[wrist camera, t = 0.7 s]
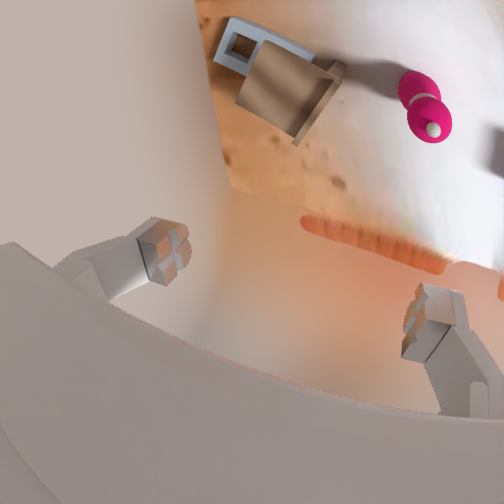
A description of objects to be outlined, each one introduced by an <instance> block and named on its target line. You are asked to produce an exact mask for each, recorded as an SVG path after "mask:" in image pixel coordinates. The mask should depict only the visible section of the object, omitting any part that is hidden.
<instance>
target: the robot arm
mask: <svg viewBox="0 0 504 504" xmlns="http://www.w3.org/2000/svg"><path fill="white" fill-rule="evenodd" d="M188 236H189V231H188V227H187V226H186V225H185V224H182V223H178V222H173V221H170V220H166V219H162V218H157V217H151V218H150V219H148V220H147V221H146V222H144V223H143V224H142V225H140V226H139V227H137V228H136V229H135V230H133V231H132V232H131V233H129V234H128V235H127V236H121V237H117V238H114V239H111V240H108V241H105V242H101V243H98V244H95V245H92V246H89V247H86V248H83V249H80V250H77V251H74V252H72V253H71V254H69V255H68V256H67V257H65V258H64V259H63V260H62V261H60V262H59V263H58V264H57V265H56V266H54V267H53V268H51V267H50V266H48V265H47V264H45V263H44V262H42V261H41V260H39V259H38V258H36V257H35V256H34V255H32V254H31V253H29V252H28V251H26V250H25V249H24V248H22V247H21V246H20V245H19V244H17V243H14V242H11V243H7V244H3V245H0V504H504V375H503V374H502V372H501V370H500V369H499V367H498V366H497V364H496V363H495V361H494V359H493V358H492V356H491V355H490V354H489V352H488V351H487V349H486V348H485V346H484V345H483V343H482V342H481V340H480V339H479V338H478V336H477V335H476V334H475V332H474V331H473V330H470V328H469V322H468V317H467V311H466V306H465V301H464V297H463V293H462V292H460V291H456V290H452V289H445V288H441V287H438V286H434V285H429V284H425V283H420V284H419V286H418V287H417V289H416V292H415V297H416V298H415V300H414V301H412V302H411V303H410V305H409V307H408V309H407V312H406V315H405V319H404V324H403V331H404V333H405V334H406V336H405V338H404V339H403V341H402V352H401V358H403V359H407V360H411V361H415V362H419V363H423V364H424V367H425V369H426V372H427V374H428V376H429V379H430V381H431V384H432V386H433V389H434V391H435V394H436V397H437V399H438V402H439V405H440V407H441V411H440V412H439V413H438V414H430V413H423V412H417V411H411V410H405V409H399V408H394V407H389V406H384V405H379V404H375V403H370V402H365V401H361V400H357V399H352V398H349V397H345V396H340V395H337V394H333V393H329V392H325V391H322V390H318V389H315V388H311V387H308V386H305V385H301V384H298V383H295V382H292V381H289V380H286V379H282V378H279V377H276V376H273V375H270V374H268V373H265V372H262V371H259V370H256V369H253V368H250V367H248V366H245V365H242V364H240V363H237V362H234V361H232V360H230V359H227V358H224V357H222V356H220V355H217V354H214V353H212V352H210V351H207V350H205V349H202V348H200V347H198V346H196V345H193V344H191V343H189V342H187V341H184V340H182V339H180V338H178V337H175V336H174V335H171V334H169V333H167V332H165V331H163V330H161V329H159V328H157V327H155V326H153V325H151V324H149V323H147V322H145V321H143V320H141V319H139V318H137V317H135V316H133V315H131V314H129V313H127V312H125V311H123V310H122V309H120V308H118V307H116V306H114V305H112V304H111V303H109V301H111V300H113V299H115V298H116V297H119V296H121V295H123V294H125V293H127V292H129V291H131V290H133V289H135V288H136V287H139V286H141V285H143V284H145V283H147V282H149V280H150V281H152V282H155V283H158V284H161V285H164V286H167V285H168V284H169V283H170V282H171V281H172V280H173V279H174V278H175V277H176V276H177V271H178V270H181V269H183V268H185V267H186V265H187V264H188V263H189V261H190V258H191V254H192V249H191V244H190V243H189V242H188V240H187V238H188Z"/></svg>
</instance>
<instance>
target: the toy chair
mask: <svg viewBox="0 0 504 504" xmlns="http://www.w3.org/2000/svg"><path fill="white" fill-rule="evenodd" d="M346 68H347V66H345V65H344V64H342V63H341V62H339V61H336V62H335V63H334V64H333V65H332V66H331V68H330V69H329V70H328V71H327V72H326V71H324V70H322V69H321V68H319V67H317V66H316V65H314V64H312V63H311V62H309V61H307V60H305V59H304V58H302V57H300V56H298V55H296V54H295V53H293V52H291V51H289V50H287V49H285V48H283V47H281V46H279V45H277V44H275V43H273V42H271V41H269V40H264V42H263V44H262V46H261V48H260V50H259V52H258V54H257V56H256V58H255V60H254V62H253V64H252V66H251V68H250V71H249V73H248V75H247V77H246V79H245V81H244V84H243V86H242V88H241V90H240V92H239V95H238V97H237V99H236V101H235V104H237V105H239V106H241V107H243V108H245V109H247V110H248V111H250V112H252V113H254V114H255V115H257V116H259V117H261V118H262V119H264V120H266V121H267V122H269V123H271V124H273V125H274V126H276V127H278V128H279V129H281V130H282V131H284V132H286V133H287V134H289V135H290V136H292V137H294V140H293V141H292V144H293V145H295V146H296V147H297V146H298V144H299V143H300V142H301V140H302V139H303V137H304V136H305V134H306V133H307V132H308V130H309V129H310V127H311V126H312V124H313V123H314V122H315V120H316V119H317V117H318V116H319V114H320V113H321V112H322V110H323V109H324V107H325V106H326V105H327V103H328V102H329V100H330V99H331V98H332V96H333V95H334V93H335V92H336V91H337V89H338V88H339V86H340V84H341V83H342V82H341V81H340V80H339V79H340V77H341V76H342V74H343V72H344V71H345V69H346Z"/></svg>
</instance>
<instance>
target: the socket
mask: <svg viewBox="0 0 504 504" xmlns="http://www.w3.org/2000/svg"><path fill="white" fill-rule="evenodd" d="M238 34H241V35H243V36H245V37H248V38H250V39H252V40H254V41H257V44H256V46H255V48H254V51H253V53H252V55H251V57H250V59H249V58H247V57H245V56H243V55H240V54H238V53H236V52H234V51H232V48H233V45H234V43H235V41H236V39H237V36H238ZM264 40H269V41H271V42H273V43H275V44H277V45H279V46H281V47H283V48H285V49H287V50H289V51H291V52H293V53H295V54H296V55H298V56H300V57H302V58H304V59H305V60H307V61H309V62H312V61H313V59H314V58H315V56H316V53H314V52H313V51H311V50H309V49H307V48H306V47H304V46H302V45H300V44H298V43H296V42H294V41H292V40H290V39H288V38H286V37H284V36H282V35H280V34H278V33H276V32H274V31H272V30H270V29H268V28H265V27H263V26H261V25H259V24H256V23H254V22H251V21H249V20H247V19H244V18H241V17H239V16H236V17H231V18H230V20H229V22H228V25H227V27H226V29H225V32H224V34H223V37H222V39H221V42H220V44H219V47H218V49H217V52H216V55H215V57H214V60H213V61H214V62H217V63H219V64H221V65H223V66H225V67H228V68H230V69H232V70H234V71H236V72H238V73H240V74H242V75H244V76H246V77H247V75H248V73H249V71H250V68H251V66H252V64H253V62H254V60H255V58H256V56H257V54H258V52H259V50H260V48H261V46H262V44H263V42H264Z"/></svg>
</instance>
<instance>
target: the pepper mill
mask: <svg viewBox="0 0 504 504" xmlns="http://www.w3.org/2000/svg"><path fill="white" fill-rule="evenodd" d="M398 95H399V98H400V101H401V103H402V104H403V106H404V107H405V108H406V109H407V110H408V112H407V120H408V124H409V127H410V129H411V130H412V132H413V133H414V134H415V135H416V136H417V137H418V138H419V139H421V140H422V141H424V142H427V143H439V142H441V141H443V140H445V139H446V138H447V137H448V136H449V134H450V132H451V129H452V118H451V114H450V112H449V110H448V108H447V107H446V106H445V105H444V104H443V103H442V102H441V94H440V91H439V89H438V86H437V85H436V83H435V82H434V81H433V80H432V79H431V78H429V77H428V76H426V75H424V74H422V73H420V72H409V73H406V74H405V75H404V76H403V77H402V79H401V81H400V84H399V87H398Z"/></svg>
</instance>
